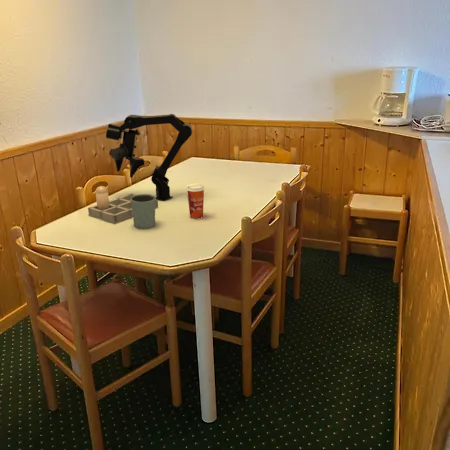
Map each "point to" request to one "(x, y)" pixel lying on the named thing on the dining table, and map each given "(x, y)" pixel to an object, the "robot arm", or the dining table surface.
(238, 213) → the dining table surface
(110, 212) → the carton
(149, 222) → the grey green pot
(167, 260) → the dining table surface
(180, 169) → the dining table surface
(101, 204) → the beige capped bottle
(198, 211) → the paper cup
